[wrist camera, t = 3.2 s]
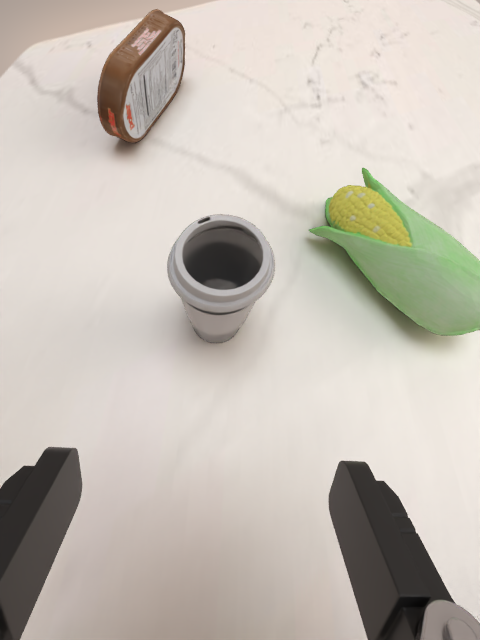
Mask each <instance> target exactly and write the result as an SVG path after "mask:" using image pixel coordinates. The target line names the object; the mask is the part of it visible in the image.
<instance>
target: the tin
mask: <svg viewBox="0 0 480 640" xmlns="http://www.w3.org/2000/svg"><path fill="white" fill-rule="evenodd" d="M184 65H185V31H184V28H183V26H182V24H181V23H180V22H179V21H178V20H176V19H174V18H172V17H170V16H168V15H166V14H164V13H163V12H162V11H160V10H158V9H155V10H152V11H151V12H150V13H148V14H147V15H146V17H145V18H144V19H143V20H142V21H141V22H140V23H139V24H138V25H137V26H136V27H135V28H134V29H133V30H132V31H131V32H130V33H129V34H128V35H127V37H126V38H125V39H124V40H123V41H122V42H121V43H120V44H119V45H118V46H117V47H116V48H115V49H114V50H113V51H112V52H111V54H110V55H109V57H108V58H107V60H106V62H105V64H104V67H103V70H102V73H101V77H100V80H99V86H98V97H97V102H98V113H99V117H100V121H101V124H102V126H103V128H104V129H105V131H106V132H107V133H108V134H110V135H112V136H116V137H118V138H121V139H123V140H125V141H128V142H132V143H134V142H138V141H140V140H141V139H142V138H143V137H144V136H145V135H146V134H147V132H148V131H149V130H150V129H151V127H152V126H153V125H154V123H155V122H156V121H157V119H158V118H159V117H160V115H161V114H162V113H163V111H164V110H165V109H166V107H167V106H168V105H169V103H170V102H171V101H172V99H173V98H174V96H175V95H176V93H177V91H178V88H179V86H180V83H181V80H182V76H183V71H184Z"/></svg>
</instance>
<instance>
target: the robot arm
mask: <svg viewBox="0 0 480 640" xmlns="http://www.w3.org/2000/svg"><path fill="white" fill-rule="evenodd" d="M81 492H82V478H81V471H80V464H79V456H78V451H77V449H76V448H61V447H48V448H47V449H46V450H45V451H44V452H43V454H42V455H41V457H40V458H39V460H38V462H37V463H36V465H35V466H23V467H22V468H21V469H20V470H19V471H17V472H16V473H15V474H14V475H12V476H11V477H10V478H9V479H8V480H6V481H5V483H4V484H3V486H2V487H1V488H0V640H20V638H21V636H22V633H23V631H24V629H25V626H26V624H27V622H28V619H29V617H30V615H31V613H32V610H33V608H34V606H35V603H36V601H37V599H38V596H39V594H40V592H41V590H42V587H43V585H44V583H45V580H46V578H47V576H48V573H49V571H50V569H51V567H52V564H53V562H54V560H55V557H56V555H57V553H58V550H59V548H60V546H61V544H62V541H63V539H64V537H65V534H66V532H67V530H68V527H69V525H70V523H71V521H72V518H73V516H74V514H75V511H76V509H77V507H78V504H79V501H80V497H81ZM329 511H330V515H331V519H332V522H333V525H334V529H335V532H336V535H337V539H338V542H339V545H340V548H341V552H342V555H343V558H344V562H345V565H346V568H347V572H348V575H349V578H350V582H351V585H352V588H353V592H354V595H355V598H356V601H357V605H358V608H359V611H360V615H361V618H362V621H363V625H364V628H365V631H366V635H367V638H368V640H480V623H479V622H478V621H477V620H476V619H475V618H474V617H473V616H472V615H471V614H470V613H469V612H468V611H466V610H465V609H463V608H462V607H460V606H459V605H457V604H456V603H455V602H454V601H453V599H452V598H451V596H450V594H449V593H448V591H447V589H446V587H445V585H444V583H443V581H442V579H441V577H440V575H439V573H438V572H437V570H436V568H435V566H434V564H433V562H432V560H431V558H430V556H429V554H428V553H427V551H426V549H425V547H424V545H423V543H422V541H421V539H420V537H419V535H418V533H416V532H415V528H414V526H413V524H412V522H411V520H410V518H408V516H407V515H408V514H407V512H406V511H405V509H404V507H403V505H402V503H401V501H400V499H399V497H398V496H397V495H396V494H395V493H394V492H393V490H392V489H391V488H390V487H389V486H388V485H387V484H386V483H385V482H384V481H376V480H375V478H374V476H373V474H372V472H371V470H370V468H369V466H368V464H367V463H366V462H358V461H340V462H339V464H338V467H337V470H336V473H335V477H334V480H333V483H332V486H331V489H330V493H329Z"/></svg>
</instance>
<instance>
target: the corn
mask: <svg viewBox="0 0 480 640" xmlns="http://www.w3.org/2000/svg"><path fill="white" fill-rule="evenodd" d="M362 174H363V178H364V182H365V185H366V187H362V186H352V185H348V186H347V187H342V188H340V189H339V190H338V191H337V193H335V194H334V196H333V197H331V198H328V199H327V200H326V210H325V212H326V218H327V220H328V222H329V224H330V226H331V227H329V226H320V227H316V228H313V229H309V231H310V232H312V233H313V234H315V235H317V236H321V237H325V238H328V239H330V240H332V241H333V242H335V243H337V244H338V245H340V246H342V247H343V248H344V249H345V250H346V251H347V253H348V255H349V256H350V258H351V259H352V260H353V262H354V263H355V264H356V265H357V267H358V268H359V269H360V270H361V271H362V273H363V274H364V275H365V277H366V278H367V279H368V280H369V281H370V282H371V284H372V285H373V286H374V287H375V288H376V290H377V291H378V292H379V293H380V294H381V295H382V296H384V297H385V298H386V299H387V300H389V301H390V302H391V303H392V304H393V305H394V306H396V307H397V308H398V309H399V310H400V311H402V312H403V313H404V314H405V315H407V316H408V317H409V318H410V319H412V320H413V321H414V322H415V323H417V324H418V325H420V326H422V327H424V328H426V329H427V330H429V331H430V332H432V333H434V334H438V335H444V336H455V335H462V334H465V333H470V332H474V331H476V330H480V261H479V260H478V259H477V258H476V257H475V256H474V255H473V254H472V253H471V252H470V251H468V250H467V249H466V248H465V247H464V246H463V245H462V244H461V243H459V242H458V241H457V240H456V239H455V238H453V237H452V236H451V235H450V234H448V233H447V232H446V231H444V230H443V229H442V228H440V227H439V226H437V225H436V224H434V223H432V222H431V221H429V220H428V219H426V218H425V217H423V216H422V215H420V214H418V213H417V212H415V211H414V210H412V209H411V208H409V207H408V206H407V205H405V204H404V203H403V202H401V201H400V200H399V199H398V198H397V197H395V196H394V195H393V194H392V193H391V192H390V191H389V190H388V189H386V188H385V187H384V186H383V185H382V184H381V183H379V182H378V181H377V180H375V179H374V178H373V177H372V176H371V174H370V173H369V171H368V170H367V169H365V168H362Z"/></svg>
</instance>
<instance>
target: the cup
mask: <svg viewBox="0 0 480 640" xmlns="http://www.w3.org/2000/svg"><path fill="white" fill-rule="evenodd" d="M167 271H168V277H169V280H170V283H171V285H172V287H173V288H174V290H175V291H176V293H177V294H178V295H179V296H180V297H181V299H182V302H183V304H184V307H185V310H186V313H187V315H188V318H189V320H190V321H191V323H192V325H193V328H194V330H195V332H196V333H197V335H198V336H199V337H200V338H202V339H203V340H205V341H208V342H211V343H222V342H225V341H228V340H230V339H231V338H232V337H234V335H235V334H236V333H237V331H238V330H239V328H240V326H241V325H242V324H243V323H244V321H245V320H246V318H247V316H248V314H249V312H250V310H251V309H252V307H253V305H254V303H255V301H256V300H258V299H259V298H260V297H261V296H262V295H263V294H264V293H265V292H266V290H267V289H268V288H269V286H270V284H271V282H272V279H273V276H274V271H275V260H274V255H273V251H272V248H271V246H270V244H269V242H268V241H267V240H266V238H265V236H264V235H263V234H262V232H261V231H260V230H259V229H258V228H257V227H256V226H255V225H253V224H252V223H250V222H249V221H247V220H245V219H242V218H240V217H237V216H232V215H223V214H218V215H210V216H207V217H203V218H201V219H199V220H197V221H195V222H193V223H192V224H190V225H189V226H188V227H187V228H186V229H185V230H184V231H183V232H182V233H181V235H180V237H179V238H178V239H177V240H176V242H175V244H174V245H173V247H172V249H171V252H170V254H169V258H168V263H167Z"/></svg>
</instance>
